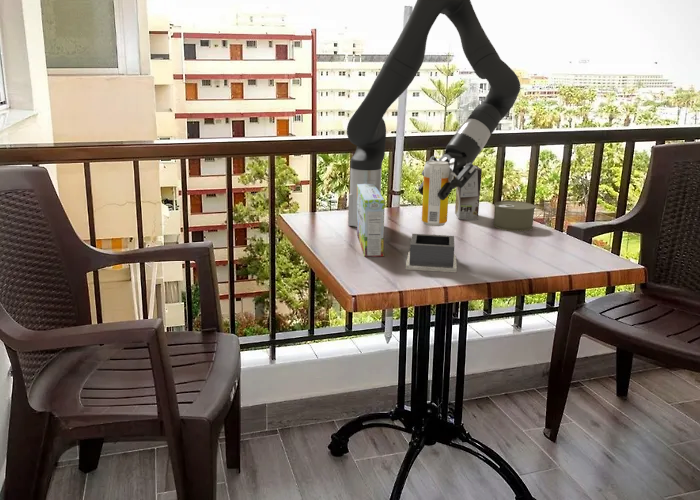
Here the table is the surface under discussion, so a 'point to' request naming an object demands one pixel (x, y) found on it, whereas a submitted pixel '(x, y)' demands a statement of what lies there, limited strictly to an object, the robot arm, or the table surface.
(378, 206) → the snack box
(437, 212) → the beer can
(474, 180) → the coffee box
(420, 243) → the can holder
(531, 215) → the grey round container
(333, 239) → the table surface
